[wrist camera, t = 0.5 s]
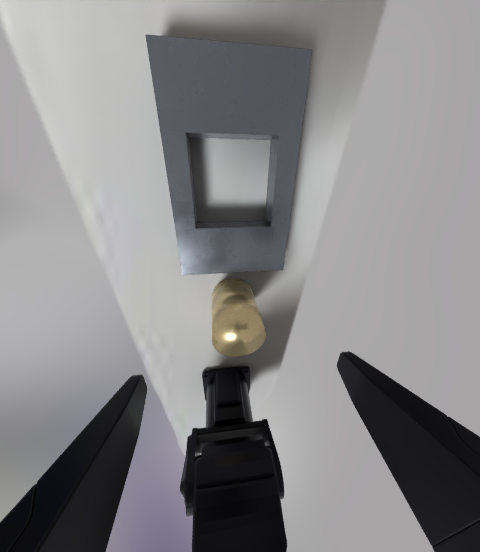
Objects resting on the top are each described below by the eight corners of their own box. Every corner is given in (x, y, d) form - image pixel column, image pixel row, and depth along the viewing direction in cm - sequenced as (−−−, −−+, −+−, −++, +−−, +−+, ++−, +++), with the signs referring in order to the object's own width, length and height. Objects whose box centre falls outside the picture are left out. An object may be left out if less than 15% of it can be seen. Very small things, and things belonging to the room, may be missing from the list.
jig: (276, 260, 19) (283, 269, 18) (185, 265, 18) (182, 275, 17) (298, 66, 13) (312, 49, 11) (155, 55, 12) (145, 34, 10)
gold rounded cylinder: (251, 310, 22) (264, 354, 17) (213, 313, 22) (213, 359, 16) (253, 277, 20) (268, 315, 15) (210, 279, 19) (210, 319, 14)
